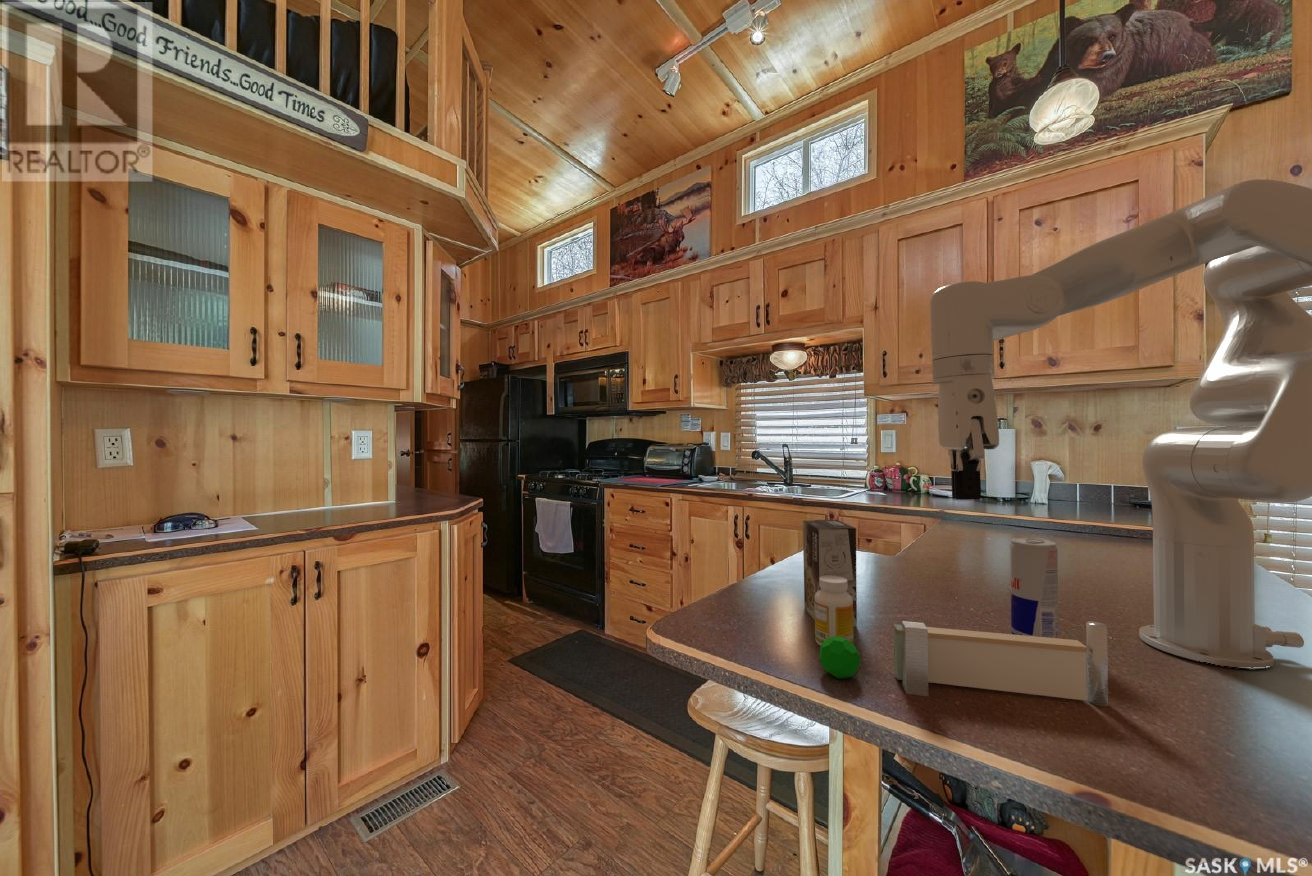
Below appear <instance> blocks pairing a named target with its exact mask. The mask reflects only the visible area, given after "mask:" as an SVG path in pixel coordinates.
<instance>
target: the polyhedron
mask: <svg viewBox="0 0 1312 876" xmlns="http://www.w3.org/2000/svg"><path fill="white" fill-rule="evenodd" d="M818 659H819V662H820V663H821V666H822V668H823V670H824V671H826V672H827V673H829V674H830V675H832V676H833V677H835V678H837V679H848V678H852V677H853V676H854V675H855V674H856V673H857V672H858V671H859V670H860V669H859V668H860V666H861V656H860V653H859V652H858V650H857V648H856V646H855V643H854V642H853V643H851V642H850V641H848V640H846V639H844V638H842V637H840V636H838V637H831V638H828V639H826V640H825V641H824V642H823V643H822V644H821V646H820V647H819V655H818Z"/></svg>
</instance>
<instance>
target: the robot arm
mask: <svg viewBox="0 0 1312 876" xmlns="http://www.w3.org/2000/svg"><path fill="white" fill-rule="evenodd" d="M1204 264H1207V265H1206V267H1205V269H1204V272H1203V285H1204V287H1205V290H1206V292H1207V294H1208V295H1209V297H1210V298H1211V299H1212V301H1213V303H1214V304H1215V306H1216V307H1217V309H1218V310H1219V313H1220V315H1221V317H1222V321H1223V324H1224V325H1223V326H1224V328H1223V333H1222V336H1221V337H1220V340H1219V342H1218V344H1217V346H1216V348H1215V349H1214V351H1213V353H1212V354H1211V356H1210V358H1209V361H1208V362H1207V364H1206V366H1205V367H1204V369H1203V371H1202V373H1201V375H1200V376H1199V378H1198V380H1197V381H1196V384H1195V385H1194V387H1193V390H1192V393H1191V395H1190V399H1189V408H1190V410H1191V412H1192V414H1193V415H1194V417H1196V418H1197V419H1199V420H1201V421H1202V422H1204V423H1207V424H1212V425H1214V426H1208V427H1207V426H1199V427H1198V426H1197V427H1196V426H1194V427H1183V428H1177V429H1173V430H1169V431H1165V432H1163V433H1161V434H1158V435H1157V436H1156V437H1154V438H1152V439H1151V440H1150V441H1149V442H1148V443H1147V445H1146V446H1145V449H1144V451H1143V453H1142V469H1143V473H1144V477H1145V481H1146V484H1147V487H1148V491H1149V496H1150V500H1151V509H1152V510H1151V511H1152V557H1153V558H1152V559H1153V560H1152V563H1153V564H1152V566H1153V569H1152V572H1153V573H1152V574H1153V575H1152V576H1153V577H1152V578H1153V579H1152V580H1153V581H1152V582H1153V586H1152V587H1153V624H1149V625H1148V624H1147V625H1144V626H1141V627H1140V628H1139V630H1138V631H1139V633H1138V636H1139V638H1140V639H1141V640H1142V641H1143V642H1144V643H1145V644H1147V645H1149V646H1151V647H1153V648H1155V649H1158V650H1159V651H1160V650H1161V651H1163V652H1164V653H1165V652H1166V653H1168V654H1171V655H1174V656H1177V657H1180V658H1183V659H1184V658H1185V659H1187V660H1192V661H1194V662H1199V661H1200V662H1199V663H1203V662H1207V663H1206V664H1208V663H1211V664H1210V665H1212V664H1215V665H1214V666H1218V665H1220V666H1219V667H1224V666H1230V667H1229V668H1231V667H1251V668H1253V667H1266V666H1272V665H1273V666H1274V664H1275V663H1274V662H1275V661H1274V655H1273V654H1272V653H1271V652H1270V651H1268V650H1267V649H1266V648H1272V647H1273V646H1275V645H1276V646H1280V647H1287V648H1299V649H1300V648H1303V647H1304V646H1305V641H1304V638H1303V636H1301V634H1300V633H1298V632H1292V631H1281V630H1280V631H1279V630H1278V631H1277V630H1276V631H1272V629H1271V628H1270V627H1269V626H1261V625H1259V624H1257V623H1255V622H1256V618H1255V617H1256V616H1255V612H1256V611H1255V606H1256V605H1255V533H1254V527H1253V524H1252V521H1251V519H1250V517H1249V515H1248V514H1247V512H1246V509H1244V507H1243V506H1242V504H1241V503H1240V501H1239V500H1238V499H1240V500H1248V501H1256V502H1267V503H1281V504H1282V503H1296V502H1300V501H1304V500H1307V499H1309V498H1312V316H1311V315H1310V314H1309V312H1308V311H1307V310H1305V309H1304V308H1303V307H1301V306H1300V304H1298V303H1297V302H1296V301H1295V300H1294V299H1293V297H1291V295H1290V294H1289V292H1290V291H1295V290H1299V289H1302V288H1303V289H1304V288H1307V287H1311V286H1312V188H1310V187H1306V186H1303V185H1300V184H1296V183H1291V182H1286V181H1281V180H1276V179H1259V178H1258V179H1248V180H1245V181H1241V182H1238V183H1235V184H1233V185H1231V186H1228V187H1226V188H1224V189H1222V190H1220V191H1217V192H1215V193H1213V194H1211V195H1208V196H1206V197H1204V198H1202V199H1200V200H1198V201H1194V202H1193V203H1191V204H1188V205H1186V206H1183V207H1180V208H1179V209H1176V210H1174V211H1171V212H1168V213H1167V214H1164V215H1162V216H1160V217H1157V218H1155V219H1152V220H1150V221H1148V222H1147V221H1146V222H1145V223H1143V224H1140V225H1137V226H1135V227H1133V228H1130V229H1128V230H1126V231H1123V232H1120V233H1117V234H1114V235H1113V236H1110V237H1107V238H1105V239H1102V240H1101V241H1100V240H1099V241H1096V242H1095V243H1094V244H1091V245H1089V246H1087V247H1084V248H1083V249H1080V250H1078V251H1076V252H1074V253H1073V254H1070V255H1068V256H1066V257H1065V258H1063V259H1061V260H1059V261H1057V262H1055V263H1054V264H1051V265H1049V266H1047V267H1045V268H1042V269H1041V270H1039V271H1037V272H1035V273H1032V274H1030V275H1022V276H1016V277H1011V278H1007V279H1002V280H995V281H988V282H985V281H984V282H983V281H980V280H979V281H976V280H975V281H974V280H971V281H960V282H959V281H958V282H955V283H951V284H948V285H944V286H942V287H940V288H938V289H936V290H935V291H934V292H933V293H932V294H931V297H930V301H929V302H930V303H929V310H930V311H929V314H930V317H929V318H930V338H931V339H930V341H931V342H930V343H931V344H930V345H931V375H932V384H933V385H938V404H937V405H938V406H937V407H938V410H937V416H938V417H937V420H938V421H937V422H938V423H937V424H938V425H937V427H938V439H939V444H940V446H941V447H942V448H944V449H946V450H948V451H947V452H948V455H949V462H950V470H951V471H950V473H951V475H950V476H951V496H952V498H954V499H955V500H980V499H981V498H982V494H981V493H982V487H981V486H982V485H981V469H982V460H983V459H985V450H995V449H996V448H997V447H999V445H1000V431H999V422H998V411H997V410H998V409H997V400H996V394H995V389H994V384H993V380H995V363H994V362H995V361H994V360H995V359H994V342H997V341H1000V340H1003V339H1006V338H1011V337H1012V336H1016V335H1017V336H1018V335H1020V334H1021V335H1022V334H1024V333H1028V332H1031V331H1034V330H1037V329H1040V328H1042V327H1044V326H1046V325H1048V324H1050V323H1052V322H1053V321H1054V320H1055V319H1056V318H1057V317H1061V316H1063V315H1066V314H1070V313H1073V312H1074V313H1075V312H1076V311H1081V310H1084V309H1089V308H1092V307H1096V306H1099V305H1101V304H1104V303H1108V302H1110V301H1113V300H1116V299H1117V300H1118V299H1120V298H1122V297H1125V296H1128V295H1130V294H1132V293H1135V292H1137V291H1139V290H1142V289H1144V288H1146V287H1150V286H1151V285H1154V284H1157V283H1159V282H1161V281H1164V280H1166V279H1169V278H1171V277H1174V276H1176V275H1179V274H1181V273H1184V272H1186V271H1188V270H1191V269H1194V268H1198V267H1199V266H1202V265H1204ZM1215 425H1217V426H1215ZM1273 666H1272V667H1273Z"/></svg>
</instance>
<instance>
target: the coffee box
mask: <svg viewBox="0 0 1312 876" xmlns="http://www.w3.org/2000/svg"><path fill="white" fill-rule="evenodd" d="M802 542H803V543H802V544H803V545H802V547H803V548H802V549H803V550H802V552H803V553H802V554H803V556H802V557H803V594H804V596H803V598H804V602H803V603H804V606H803V607H804V609H805V611H807V614H809V616H811V618H812V619H813V620H814V621H815V594H816V592H817V591H819V590H821V588H820V587H819V578H820V577H821V576H826V575H833V576H840V577H843V578H846V579H847V583H848V588H847V591H846V592H847V593H848V594H849V595H850V596H851V597H852V600H853V628H855V627H856V628H857V625H858V621H857V620H858V613H857V612H858V610H857V605H858V604H857V602H858V601H857V600H858V598H857V594H858V593H857V528H856V527H855V526H851V525H850V524H848V523H846V522H843V521H841V520H838V519H814V520H802Z"/></svg>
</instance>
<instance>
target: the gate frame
mask: <svg viewBox="0 0 1312 876" xmlns="http://www.w3.org/2000/svg"><path fill="white" fill-rule="evenodd" d="M901 625H902V671H903V680H902V688H903V690H904V692H905V694H906V695H913V696H923V697H929V682H928V629H927V627H928V626H926V624H925V623H924V622H917V621H907V620H902V621H901ZM1085 626H1086V627H1085V631H1086V632H1085V635H1086V636H1085V637H1086V639H1085V640H1086V641H1085V642H1086V645H1085V646H1086V647H1087V652H1086V676H1087V702H1088V703H1090V704H1092V705H1094V706H1098V707H1108V706H1109V672H1108V671H1109V669H1108V667H1109V665H1108V663H1109V662H1108V659H1109V657H1108V654H1109V653H1108V650H1109V649H1108V648H1109V647H1108V625H1107V624H1105V623H1103V622H1100V621H1099V622H1098V621H1094V620H1093V621H1092V620H1091V621H1090V620H1089V621H1088V620H1087V621H1085Z"/></svg>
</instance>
